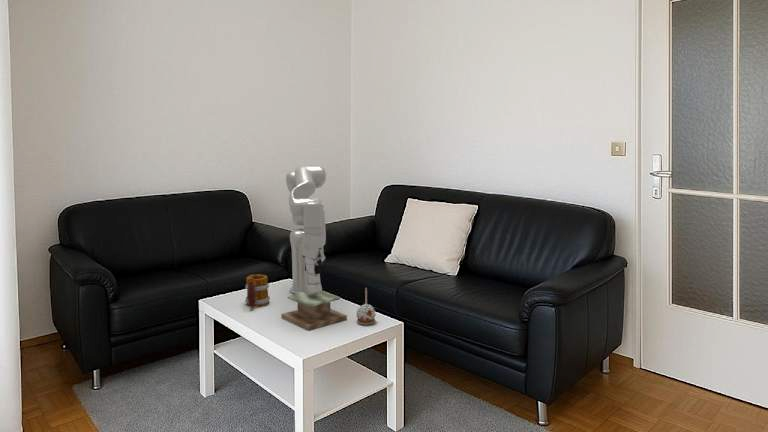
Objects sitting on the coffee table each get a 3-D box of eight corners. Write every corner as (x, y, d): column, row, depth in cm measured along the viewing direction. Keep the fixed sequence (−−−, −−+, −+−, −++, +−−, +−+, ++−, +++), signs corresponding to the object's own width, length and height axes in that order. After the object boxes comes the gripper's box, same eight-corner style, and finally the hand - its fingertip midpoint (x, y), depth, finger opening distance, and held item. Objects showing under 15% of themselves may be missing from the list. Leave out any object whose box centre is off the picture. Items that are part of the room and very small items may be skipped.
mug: (272, 300, 284) (271, 269, 281) (262, 311, 268) (261, 279, 265) (250, 299, 285) (249, 269, 282) (238, 310, 269) (237, 278, 266)
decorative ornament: (368, 327, 249) (368, 292, 246) (353, 323, 253) (353, 289, 250) (378, 321, 255) (378, 287, 253) (363, 318, 259) (363, 284, 257)
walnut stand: (319, 308, 272) (319, 287, 270) (346, 319, 257) (346, 297, 256) (281, 318, 259) (280, 295, 257) (308, 330, 244) (307, 306, 242)
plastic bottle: (319, 297, 252) (318, 250, 249) (303, 296, 254) (302, 249, 251) (323, 292, 259) (322, 247, 255) (308, 292, 260) (307, 246, 257)
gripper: (293, 228, 256) (294, 269, 259) (317, 234, 243) (318, 277, 246) (308, 226, 260) (308, 266, 264) (332, 232, 248) (332, 274, 251)
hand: (313, 271), depth 255 cm, fingers open, 6 cm apart
